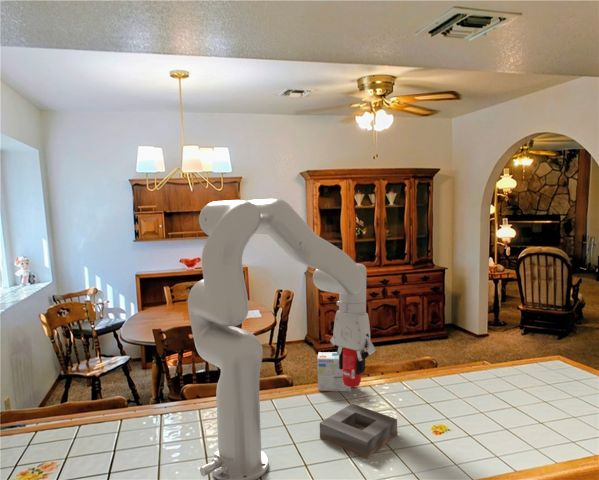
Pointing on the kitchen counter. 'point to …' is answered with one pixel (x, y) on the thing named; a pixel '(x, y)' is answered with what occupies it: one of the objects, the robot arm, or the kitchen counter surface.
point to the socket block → (358, 430)
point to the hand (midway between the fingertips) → (351, 370)
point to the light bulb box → (330, 373)
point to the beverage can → (350, 368)
